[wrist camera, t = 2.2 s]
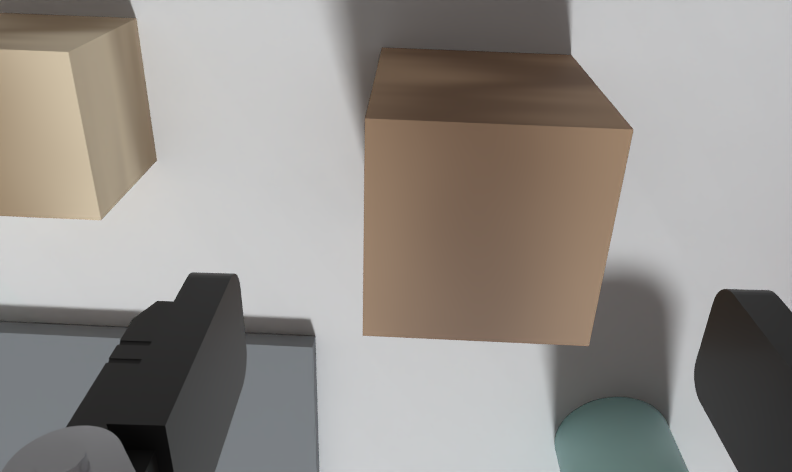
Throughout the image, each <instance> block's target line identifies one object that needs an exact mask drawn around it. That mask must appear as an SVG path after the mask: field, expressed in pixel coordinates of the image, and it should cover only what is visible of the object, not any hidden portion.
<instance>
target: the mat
mask: <svg viewBox="0 0 792 472" xmlns="http://www.w3.org/2000/svg"><path fill="white" fill-rule="evenodd" d="M126 330H127V327H105V326H84V325H62V324H41V323H19V322H0V472H2V470H3V469H4V467H5V465H6V464H7V462H8V461H9V460H10V459H11V458H12V457H13V455H15V454H16V453H17V452H18V451H19V450H20V449H21V448H23V447H24V446H25V445H27V444H28V443H30V442H31V441H33V440H35V439H37V438H38V437H40V436H43V435H45V434H47V433H49V432H52V431H55V430H58V429H62V428H66V426H67V425H68V423H69V421H70V420H71V418H72V416H73V415H74V413H75V412H76V410H77V408H78V407H79V405H80V404H81V402H82V400H83V399H84V397H85V396H86V394H87V392H88V391H89V389H90V388H91V386H92V384H93V383H94V381H95V380H96V378H97V376H98V375H99V373H100V371H101V370H102V368H103V367H104V365H105V363H108V362H109V357H110V355H111V354H112V352H113V351H114V349H115V347H116V346H117V345H119V344H120V339H121V338H122V336H123V334H124V333H125V331H126ZM245 337H246V348H247V364H246V374H245V379H244V384H243V387H242V390H241V393H240V396H239V400H238V403H237V406H236V409H235V412H234V415H233V418H232V421H231V424H230V427H229V430H228V433H227V436H226V439H225V442H224V445H223V448H222V452H221V455H220V458H219V461H218V464H217V467H216V470H215V472H319V447H318V413H317V380H316V346H315V336H298V335H277V334H255V333H245Z"/></svg>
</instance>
